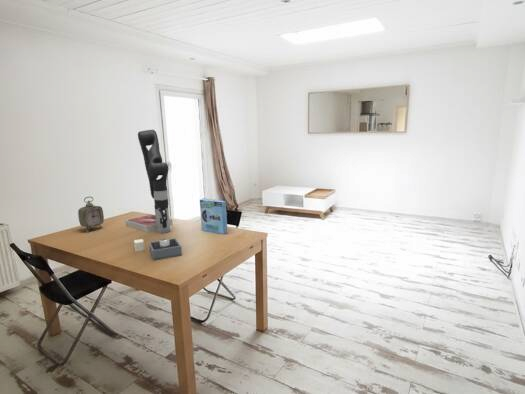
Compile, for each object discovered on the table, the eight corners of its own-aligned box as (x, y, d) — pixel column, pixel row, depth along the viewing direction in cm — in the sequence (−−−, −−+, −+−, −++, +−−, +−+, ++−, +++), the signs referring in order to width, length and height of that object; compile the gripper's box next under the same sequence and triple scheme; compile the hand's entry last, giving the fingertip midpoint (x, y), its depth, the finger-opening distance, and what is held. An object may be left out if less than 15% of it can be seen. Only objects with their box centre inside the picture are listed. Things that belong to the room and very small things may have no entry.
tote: (149, 251, 191) (149, 242, 190) (176, 246, 198) (175, 238, 197) (153, 260, 178) (152, 250, 176) (181, 255, 184) (181, 246, 183)
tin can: (159, 250, 189) (158, 239, 188) (169, 249, 191) (168, 237, 190) (161, 253, 184) (160, 242, 183) (171, 252, 186) (170, 240, 185)
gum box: (227, 232, 224) (226, 200, 220) (223, 234, 220) (221, 202, 215) (205, 228, 234) (204, 198, 229) (201, 230, 229) (199, 199, 225)
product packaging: (150, 220, 262) (150, 214, 261) (172, 225, 245) (172, 219, 244) (126, 226, 245) (125, 220, 244) (147, 233, 228) (147, 226, 227)
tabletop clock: (86, 233, 228) (81, 199, 222) (79, 231, 232) (74, 198, 227) (105, 228, 240) (101, 195, 235) (97, 226, 244) (93, 194, 239)
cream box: (134, 248, 196) (133, 240, 195) (143, 247, 198) (142, 238, 197) (135, 252, 191) (134, 243, 190) (144, 250, 193) (143, 241, 192)
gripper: (152, 196, 186) (154, 223, 189) (156, 201, 173) (158, 230, 177) (165, 195, 189) (167, 221, 192) (170, 199, 176) (172, 228, 180)
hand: (163, 225), depth 185 cm, fingers open, 8 cm apart
